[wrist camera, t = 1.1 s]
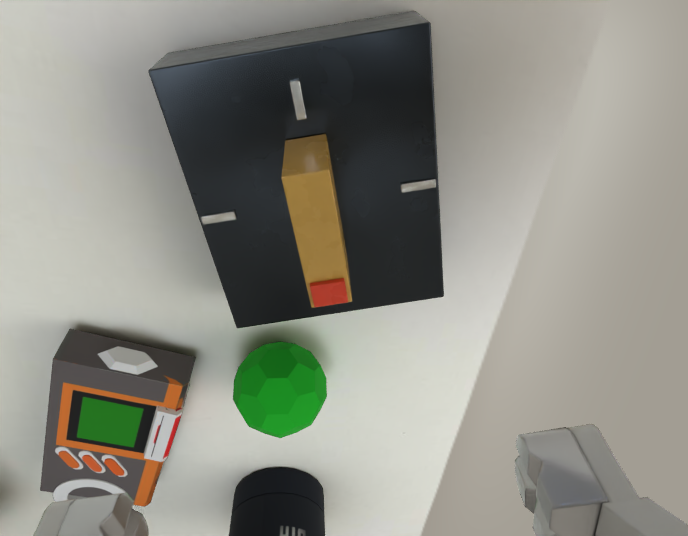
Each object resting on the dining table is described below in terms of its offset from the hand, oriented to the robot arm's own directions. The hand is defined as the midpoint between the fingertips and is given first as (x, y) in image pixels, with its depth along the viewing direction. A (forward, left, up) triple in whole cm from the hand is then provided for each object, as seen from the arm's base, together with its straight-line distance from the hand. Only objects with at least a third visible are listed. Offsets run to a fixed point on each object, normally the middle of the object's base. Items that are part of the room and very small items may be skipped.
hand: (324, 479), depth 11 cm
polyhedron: (+11, -4, -16) cm, 20 cm away
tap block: (0, 0, -16) cm, 16 cm away
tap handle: (0, 0, -13) cm, 13 cm away
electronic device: (+14, -15, -16) cm, 26 cm away
